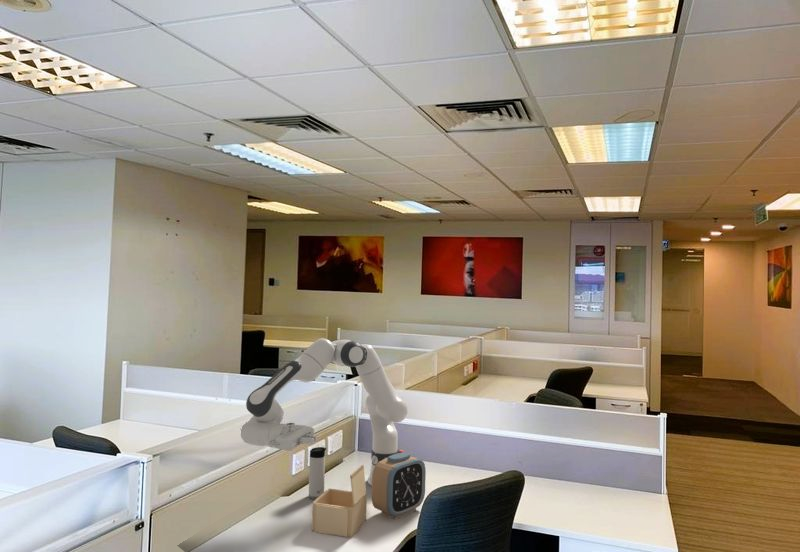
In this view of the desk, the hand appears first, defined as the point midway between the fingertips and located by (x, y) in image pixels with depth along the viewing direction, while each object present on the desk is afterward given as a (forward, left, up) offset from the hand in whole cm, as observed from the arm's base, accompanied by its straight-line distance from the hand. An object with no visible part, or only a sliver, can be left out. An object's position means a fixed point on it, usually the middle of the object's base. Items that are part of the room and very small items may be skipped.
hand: (314, 440), depth 209 cm
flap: (-9, +16, -19) cm, 27 cm away
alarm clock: (-30, +14, -30) cm, 45 cm away
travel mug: (-15, -19, -30) cm, 39 cm away
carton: (-5, +9, -30) cm, 32 cm away
